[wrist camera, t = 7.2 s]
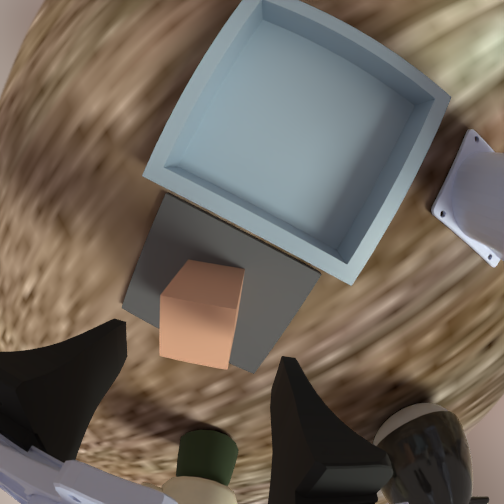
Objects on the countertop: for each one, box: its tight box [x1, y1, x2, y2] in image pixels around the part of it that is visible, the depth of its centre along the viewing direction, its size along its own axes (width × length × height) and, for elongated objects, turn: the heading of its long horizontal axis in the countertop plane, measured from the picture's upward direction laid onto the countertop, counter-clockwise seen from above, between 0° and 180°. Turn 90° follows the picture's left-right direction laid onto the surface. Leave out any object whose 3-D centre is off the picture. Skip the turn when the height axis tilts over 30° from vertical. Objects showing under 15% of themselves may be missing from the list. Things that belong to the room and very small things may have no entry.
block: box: [160, 260, 245, 370], centre depth 18 cm, size 4×4×6 cm
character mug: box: [141, 430, 238, 504], centre depth 21 cm, size 11×7×13 cm, turn 62°
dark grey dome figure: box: [373, 403, 489, 504], centre depth 18 cm, size 10×10×15 cm
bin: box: [142, 0, 451, 286], centre depth 16 cm, size 14×14×4 cm
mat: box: [122, 193, 321, 374], centre depth 21 cm, size 12×10×1 cm
